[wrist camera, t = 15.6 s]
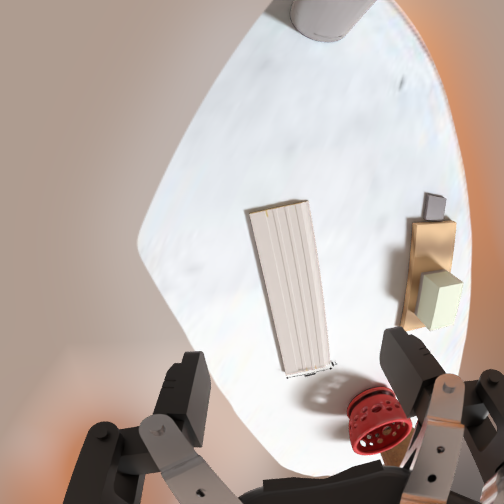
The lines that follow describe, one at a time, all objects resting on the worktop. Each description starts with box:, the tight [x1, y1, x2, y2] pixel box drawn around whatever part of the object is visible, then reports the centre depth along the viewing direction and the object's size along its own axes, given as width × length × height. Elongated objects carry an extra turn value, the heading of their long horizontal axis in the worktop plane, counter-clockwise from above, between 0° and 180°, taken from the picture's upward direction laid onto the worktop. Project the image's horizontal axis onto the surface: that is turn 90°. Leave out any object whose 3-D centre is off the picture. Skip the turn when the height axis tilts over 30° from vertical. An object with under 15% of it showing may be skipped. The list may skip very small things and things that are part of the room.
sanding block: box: [414, 269, 463, 331], centre depth 39 cm, size 8×6×6 cm
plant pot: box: [347, 387, 412, 455], centre depth 47 cm, size 13×13×12 cm
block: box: [377, 422, 414, 467], centre depth 49 cm, size 11×8×20 cm
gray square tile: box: [424, 195, 446, 222], centre depth 39 cm, size 4×4×1 cm
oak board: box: [400, 220, 456, 331], centre depth 42 cm, size 20×9×2 cm, turn 5°
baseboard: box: [249, 201, 336, 379], centre depth 43 cm, size 30×3×10 cm
